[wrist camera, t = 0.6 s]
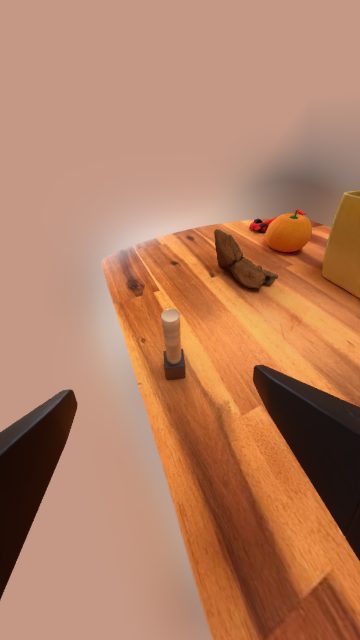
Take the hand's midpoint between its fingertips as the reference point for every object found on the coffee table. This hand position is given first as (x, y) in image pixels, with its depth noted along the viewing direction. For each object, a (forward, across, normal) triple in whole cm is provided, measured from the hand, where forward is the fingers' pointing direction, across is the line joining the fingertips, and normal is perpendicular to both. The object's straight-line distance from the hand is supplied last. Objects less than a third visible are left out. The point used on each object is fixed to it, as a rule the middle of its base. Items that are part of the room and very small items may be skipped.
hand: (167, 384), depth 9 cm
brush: (+16, -1, +11) cm, 19 cm away
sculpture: (+38, -20, 0) cm, 43 cm away
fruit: (+49, -38, -6) cm, 62 cm away
